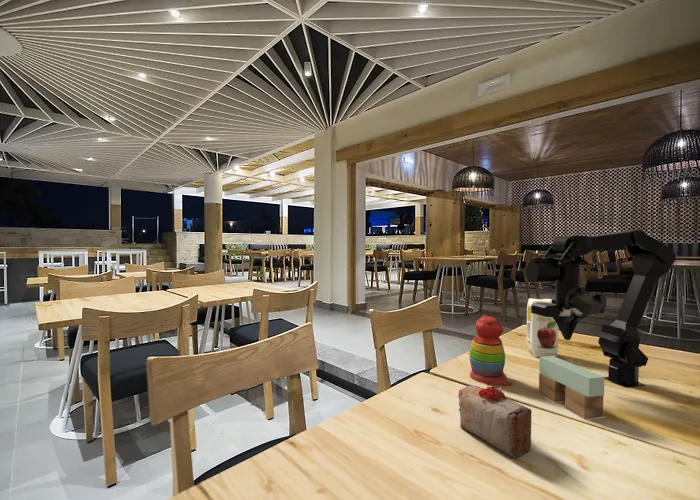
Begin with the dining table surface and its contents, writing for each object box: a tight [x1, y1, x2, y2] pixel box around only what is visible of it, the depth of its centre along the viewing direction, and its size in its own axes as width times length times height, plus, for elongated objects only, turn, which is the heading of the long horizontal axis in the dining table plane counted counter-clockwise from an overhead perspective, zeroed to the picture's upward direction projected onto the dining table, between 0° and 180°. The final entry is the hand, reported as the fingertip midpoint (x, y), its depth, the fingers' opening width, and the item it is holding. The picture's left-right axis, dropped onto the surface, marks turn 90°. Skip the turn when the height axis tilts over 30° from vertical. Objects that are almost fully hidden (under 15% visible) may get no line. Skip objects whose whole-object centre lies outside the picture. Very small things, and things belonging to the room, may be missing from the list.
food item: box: [458, 385, 532, 459], centre depth 68 cm, size 14×8×10 cm, turn 30°
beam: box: [539, 356, 606, 397], centre depth 81 cm, size 14×4×4 cm, turn 12°
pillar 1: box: [538, 372, 566, 403], centre depth 85 cm, size 5×5×5 cm
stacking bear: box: [469, 314, 511, 388], centre depth 96 cm, size 11×10×18 cm
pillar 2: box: [564, 386, 605, 420], centre depth 77 cm, size 5×5×5 cm
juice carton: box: [526, 297, 559, 358], centre depth 118 cm, size 8×9×19 cm
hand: (567, 339), depth 93 cm, fingers closed
